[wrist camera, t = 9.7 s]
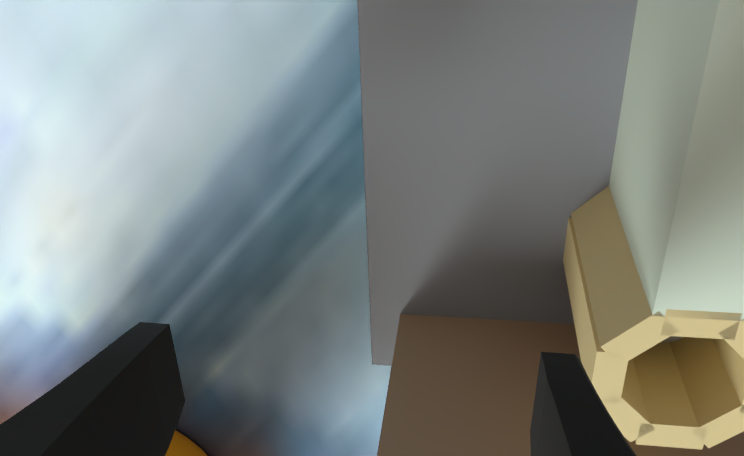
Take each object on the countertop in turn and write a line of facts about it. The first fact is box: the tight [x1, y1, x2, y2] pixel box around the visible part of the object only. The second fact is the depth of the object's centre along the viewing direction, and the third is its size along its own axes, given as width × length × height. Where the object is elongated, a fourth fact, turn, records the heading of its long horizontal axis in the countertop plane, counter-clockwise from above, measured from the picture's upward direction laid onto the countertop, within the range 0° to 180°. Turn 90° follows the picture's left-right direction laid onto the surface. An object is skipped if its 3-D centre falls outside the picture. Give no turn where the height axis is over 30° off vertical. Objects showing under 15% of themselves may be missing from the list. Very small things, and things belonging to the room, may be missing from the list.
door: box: [563, 0, 744, 450], centre depth 16 cm, size 14×4×6 cm, turn 2°
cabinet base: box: [358, 0, 744, 456], centre depth 16 cm, size 20×16×7 cm
